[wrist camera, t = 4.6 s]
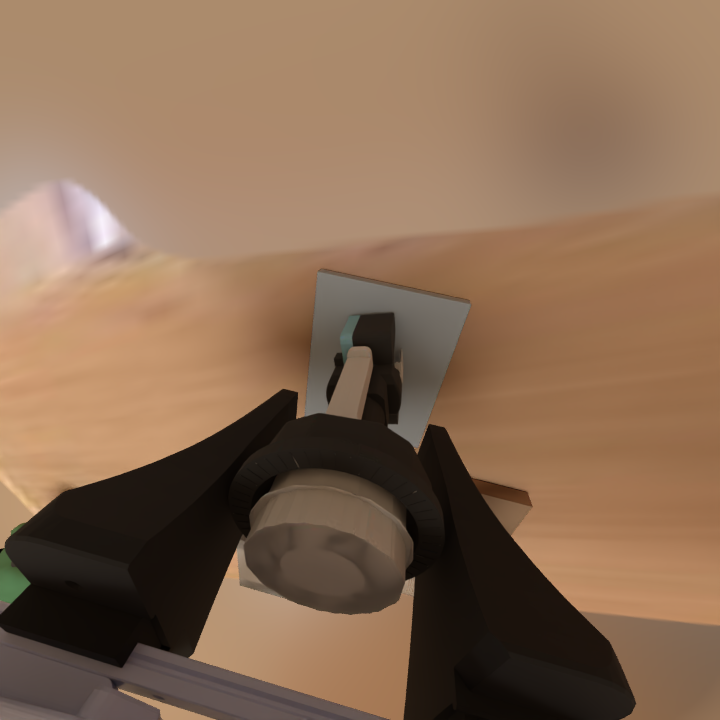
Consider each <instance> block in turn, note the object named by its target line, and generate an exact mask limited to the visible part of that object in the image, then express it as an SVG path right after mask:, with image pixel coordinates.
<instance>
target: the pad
mask: <svg viewBox="0 0 720 720" xmlns="http://www.w3.org/2000/svg"><path fill="white" fill-rule="evenodd" d="M470 307H471V303H470V301H469V300H465V299H461V298H456V297H451V296H447V295H442V294H437V293H433V292H428V291H423V290H418V289H414V288H409V287H404V286H400V285H395V284H390V283H386V282H381V281H376V280H372V279H367V278H362V277H358V276H353V275H348V274H344V273H339V272H334V271H329V270H325V269H320V270H319V271H318V273H317V284H316V295H315V306H314V317H313V328H312V339H311V350H310V361H309V372H308V383H307V394H306V405H305V416H309V415H312V414H316V413H325V414H326V411H327V409H328V406H329V405H328V402H327V398H326V389H327V384H328V382H329V380H330V377H331V375H332V373H333V371H334V369H335V365H334V357H335V355H336V353H342V350H341V344H340V335H341V332H342V330H343V329H344V327H345V325H346V323H347V321H348V317H349V316H355V315H369V314H385V313H394V316H395V347H394V362H400V351H401V349H402V352H403V383H402V400H401V407H400V410H399V418H398V424H388V428H389V429H391V430H392V431H394V432H395V433H397V434H398V435H400V436H401V437H403V438H404V439H406V440H407V441H409V442H410V443H411V444H412V446H413V447H416V448H418V446H419V443H420V440H421V438H422V435H423V432H424V430H425V427H426V424H427V422H428V419H429V416H430V414H431V411H432V408H433V406H434V403H435V400H436V398H437V395H438V392H439V390H440V387H441V384H442V382H443V379H444V376H445V374H446V371H447V368H448V366H449V363H450V360H451V358H452V355H453V352H454V350H455V347H456V344H457V342H458V339H459V336H460V334H461V331H462V328H463V326H464V323H465V320H466V318H467V315H468V312H469V310H470ZM305 416H304V417H305Z"/></svg>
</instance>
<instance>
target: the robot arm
mask: <svg viewBox="0 0 720 720" xmlns="http://www.w3.org/2000/svg"><path fill="white" fill-rule="evenodd" d="M297 400H298V392H294V391H290V390H286V389H282V390H281V391H279V392H278V393H276V394H275V395H274V396H272V397H271V398H270V399H268V400H267V401H265V402H264V403H263V404H261V405H260V406H258V407H257V408H255V409H254V410H252V411H251V412H249V413H248V414H246V415H245V416H244V417H242V418H240V419H239V420H237V421H236V422H234V423H232V424H231V425H229V426H227V427H226V428H224V429H222V430H221V431H219V432H217V433H216V434H214V435H212V436H210V437H208V438H206V439H205V440H203V441H201V442H199V443H197V444H195V445H193V446H191V447H189V448H186V449H184V450H182V451H179V452H177V453H175V454H173V455H170V456H168V457H166V458H163V459H161V460H159V461H156V462H154V463H151V464H148V465H146V466H143V467H140V468H138V469H135V470H132V471H129V472H126V473H123V474H121V475H118V476H115V477H111V478H108V479H105V480H102V481H98V482H95V483H92V484H88V485H85V486H82V487H78V488H75V489H72V490H68V491H64V492H63V493H61V494H60V495H59V496H58V497H56V498H55V499H54V500H53V501H51V502H50V503H49V504H48V505H47V506H45V507H44V508H43V509H42V510H41V511H40V512H38V513H37V514H36V515H35V516H34V517H32V518H31V519H30V520H29V521H28V522H26V523H25V524H24V525H23V526H22V527H20V528H19V529H18V530H17V531H16V532H15V533H13V534H12V535H11V536H10V537H9V538H8V539H7V540H6V542H5V552H6V554H7V555H8V557H9V558H10V560H11V561H12V562H13V563H14V564H15V566H16V567H17V568H18V569H19V570H20V572H21V573H22V574H23V575H24V576H25V577H26V579H27V580H28V581H29V582H30V583H31V584H30V585H29V586H28V587H27V588H26V589H25V590H24V591H23V592H22V593H21V594H20V595H19V596H18V597H17V598H16V599H15V600H14V601H13V602H12V603H11V604H10V603H7V602H3V601H0V720H162V718H161V717H160V710H159V709H157V708H155V707H153V706H151V705H148V704H146V703H144V702H142V701H140V700H137V699H135V698H133V697H131V696H128V695H126V694H124V693H122V692H120V691H118V688H119V689H122V690H125V691H128V692H131V693H135V694H138V695H141V696H144V697H147V698H150V699H153V700H157V701H160V702H163V703H166V704H169V705H172V706H176V707H179V708H182V709H185V710H188V711H191V712H195V713H198V714H201V715H204V716H207V717H210V718H213V719H216V720H389V719H386V718H382V717H379V716H376V715H373V714H369V713H366V712H363V711H360V710H356V709H353V708H350V707H346V706H343V705H340V704H337V703H333V702H330V701H327V700H324V699H320V698H316V697H314V696H310V695H307V694H304V693H300V692H297V691H294V690H291V689H288V688H284V687H281V686H278V685H275V684H271V683H268V682H265V681H261V680H258V679H255V678H251V677H248V676H245V675H241V674H238V673H235V672H232V671H229V670H225V669H222V668H219V667H216V666H212V665H209V664H206V663H203V662H199V661H196V660H193V659H189V657H190V656H191V655H192V654H193V653H194V651H195V648H196V646H197V643H198V640H199V638H200V635H201V633H202V630H203V628H204V625H205V623H206V620H207V618H208V615H209V612H210V610H211V607H212V605H213V603H214V600H215V598H216V595H217V593H218V591H219V588H220V586H221V583H222V581H223V579H224V576H225V574H226V571H227V569H228V567H229V564H230V562H231V560H232V557H233V555H234V553H235V551H236V548H237V546H238V544H239V541H240V539H241V537H242V535H243V534H242V532H241V531H240V530H239V528H238V527H237V525H236V523H235V521H234V520H233V517H232V515H231V512H230V508H229V500H228V497H229V490H230V486H231V483H232V481H233V479H234V477H235V476H236V474H237V473H238V471H239V469H240V468H241V466H242V465H243V464H244V462H245V461H246V460H247V459H248V458H249V457H250V456H251V455H252V454H254V453H255V452H256V451H258V450H259V449H261V448H263V447H265V446H267V445H269V444H270V443H271V442H272V440H273V439H274V438H275V436H276V435H277V434H278V433H279V431H280V430H281V429H282V427H283V426H284V425H285V424H286V423H287V422H289V421H291V420H295V419H296V414H297ZM417 456H418V458H419V460H420V462H421V464H422V466H423V468H424V470H425V472H426V474H427V476H428V478H429V480H430V482H431V485H432V491H433V492H434V494H435V495H436V497H437V499H438V501H439V503H440V505H441V509H442V512H443V519H444V529H445V543H444V547H443V550H442V552H441V554H440V556H439V558H438V559H437V561H436V562H435V563H434V564H433V565H432V566H431V567H430V568H429V569H427V570H426V571H425V572H423V573H421V574H420V575H418V576H416V577H415V583H414V600H413V616H412V631H411V643H410V657H409V667H408V678H407V689H406V700H405V701H406V702H405V710H404V720H620V719H622V718H624V717H626V716H628V715H630V714H631V713H632V711H633V709H634V707H635V705H636V702H635V698H634V696H633V694H632V691H631V689H630V687H629V684H628V681H627V679H626V677H625V674H624V672H623V670H622V667H621V665H620V663H619V661H618V659H617V656H616V654H615V652H614V650H613V648H612V646H611V644H610V642H609V641H608V640H607V639H606V638H605V637H604V636H603V635H602V634H601V633H600V632H599V631H598V630H597V629H596V628H595V627H594V626H593V625H592V624H591V623H590V622H589V621H588V620H587V619H586V618H585V617H584V616H583V615H582V614H581V613H580V612H579V611H578V610H577V609H576V608H575V607H574V606H572V605H571V604H570V603H569V602H568V600H567V599H566V598H565V597H564V596H563V595H562V594H561V593H560V592H559V591H558V590H557V589H556V588H555V587H554V586H553V585H552V583H551V582H550V581H549V580H548V579H547V578H546V577H545V576H544V575H543V574H542V573H541V571H540V570H539V569H538V568H537V567H536V566H535V565H534V564H533V562H532V561H531V560H530V559H529V558H528V556H527V555H526V554H525V553H524V552H523V550H522V549H521V548H520V547H519V546H518V544H517V543H516V542H515V541H514V540H513V538H512V537H511V536H510V534H509V533H508V532H507V531H506V529H505V528H504V527H503V525H502V524H501V522H500V521H499V520H498V518H497V517H496V516H495V514H494V513H493V511H492V510H491V509H490V507H489V506H488V504H487V503H486V501H485V499H484V498H483V496H482V495H481V493H480V492H479V490H478V488H477V487H476V485H475V483H474V482H473V480H472V478H471V476H470V475H469V473H468V471H467V469H466V468H465V466H464V464H463V462H462V460H461V458H460V456H459V455H458V453H457V451H456V449H455V447H454V445H453V443H452V441H451V439H450V437H449V434H448V432H447V430H446V429H445V428H444V427H440V426H436V425H431V424H429V426H428V428H427V431H426V433H425V436H424V439H423V441H422V444H421V447H420V449H419V452H418V454H417Z"/></svg>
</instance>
